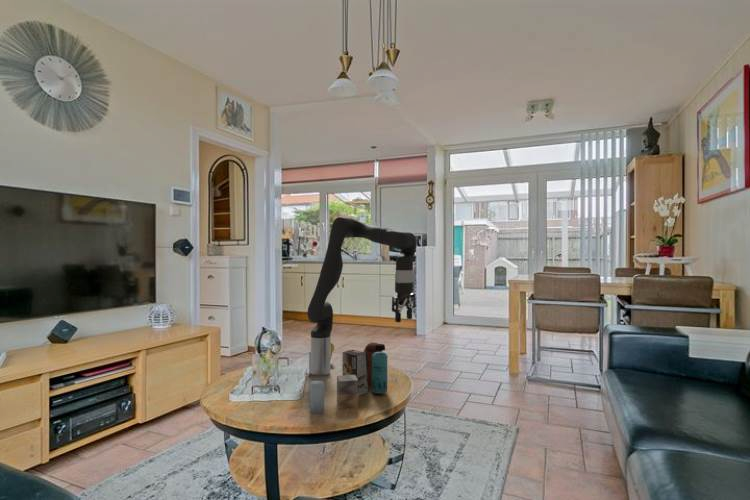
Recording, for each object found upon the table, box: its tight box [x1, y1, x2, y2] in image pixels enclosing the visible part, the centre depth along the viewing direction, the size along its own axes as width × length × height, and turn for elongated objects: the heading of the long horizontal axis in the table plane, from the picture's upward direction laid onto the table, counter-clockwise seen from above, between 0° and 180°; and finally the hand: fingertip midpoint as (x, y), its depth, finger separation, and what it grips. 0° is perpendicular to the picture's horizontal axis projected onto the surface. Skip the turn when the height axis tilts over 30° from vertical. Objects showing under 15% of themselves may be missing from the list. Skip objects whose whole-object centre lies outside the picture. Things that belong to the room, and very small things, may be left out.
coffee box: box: [341, 349, 369, 397], centre depth 168 cm, size 9×6×16 cm
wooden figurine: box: [362, 342, 383, 387], centre depth 178 cm, size 12×6×18 cm, turn 41°
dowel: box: [309, 380, 325, 415], centre depth 148 cm, size 5×5×10 cm
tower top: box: [336, 375, 358, 395], centre depth 154 cm, size 7×7×5 cm
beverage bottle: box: [370, 343, 389, 394], centre depth 165 cm, size 6×7×20 cm
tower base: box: [336, 390, 359, 409], centre depth 154 cm, size 7×7×5 cm
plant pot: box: [330, 342, 335, 362], centre depth 212 cm, size 10×10×10 cm
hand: (403, 320), depth 169 cm, fingers open, 8 cm apart
